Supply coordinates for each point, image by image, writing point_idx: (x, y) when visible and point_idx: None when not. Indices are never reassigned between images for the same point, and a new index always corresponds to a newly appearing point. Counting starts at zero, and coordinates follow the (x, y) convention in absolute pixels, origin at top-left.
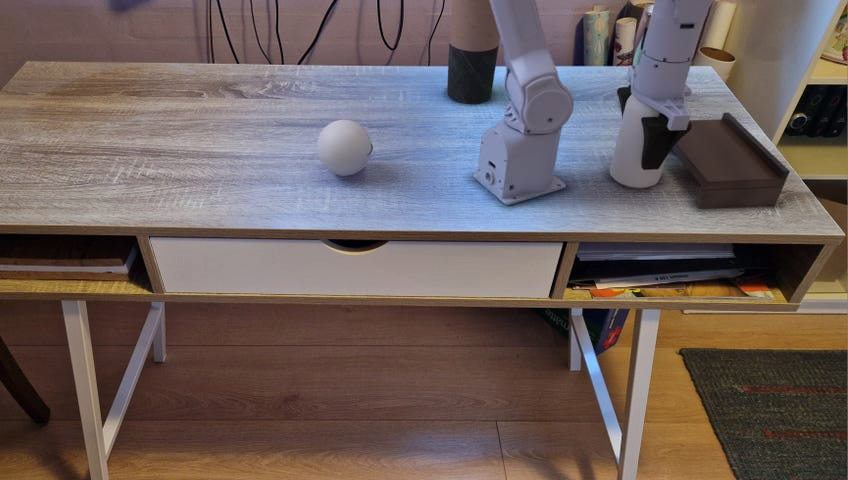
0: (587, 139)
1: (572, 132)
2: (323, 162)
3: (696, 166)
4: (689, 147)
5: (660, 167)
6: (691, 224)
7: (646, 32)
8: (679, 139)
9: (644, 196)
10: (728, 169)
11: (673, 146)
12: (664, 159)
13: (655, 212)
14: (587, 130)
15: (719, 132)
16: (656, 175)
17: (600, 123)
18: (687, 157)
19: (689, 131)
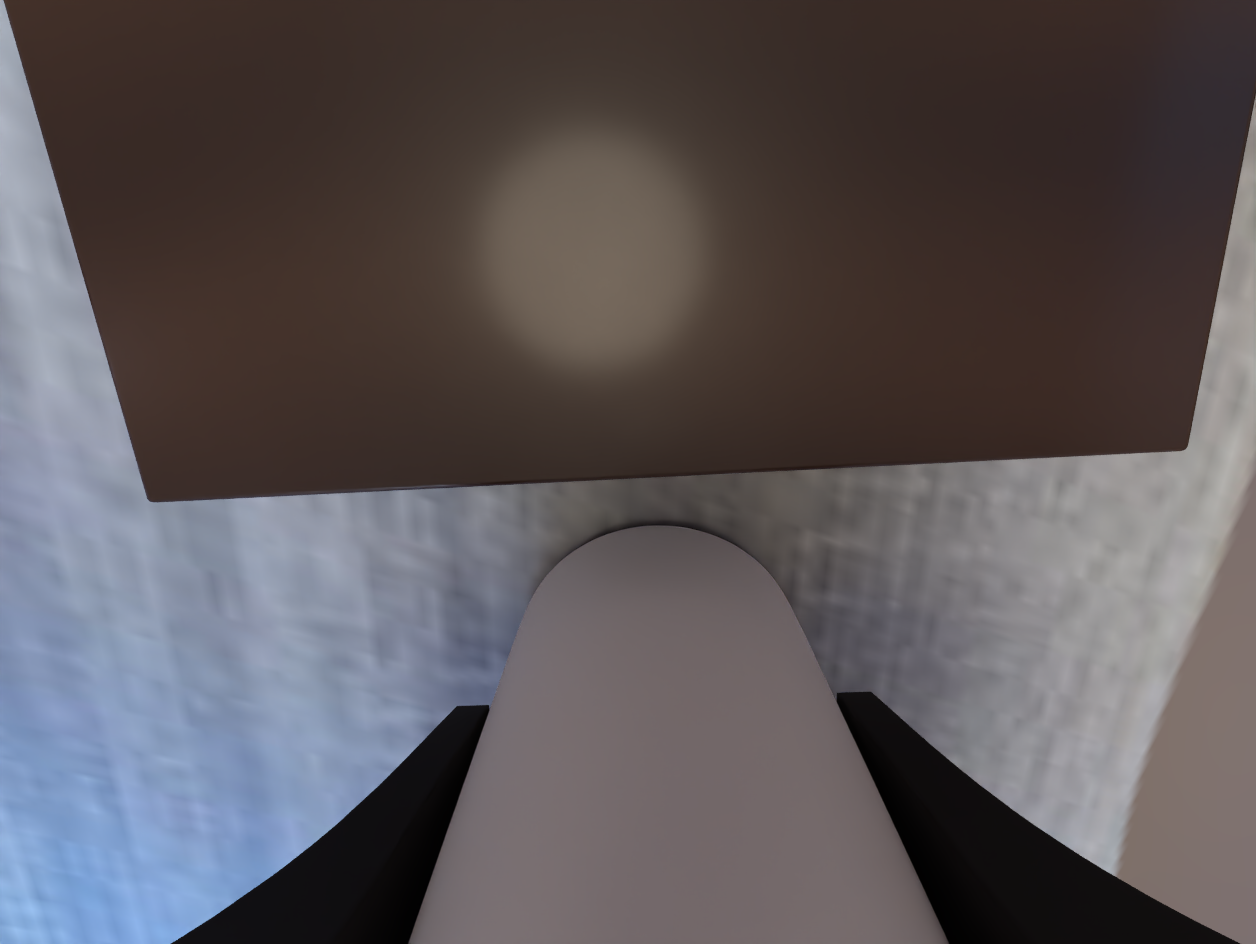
0: (242, 757)
1: (172, 808)
2: None
3: (945, 457)
4: (619, 395)
5: (801, 638)
6: (1168, 498)
7: None
8: (1150, 901)
9: (856, 646)
10: (1046, 187)
11: (1024, 818)
12: (917, 733)
13: (1015, 640)
14: (131, 732)
15: None
16: (798, 624)
17: (20, 644)
18: (782, 470)
19: (305, 279)
